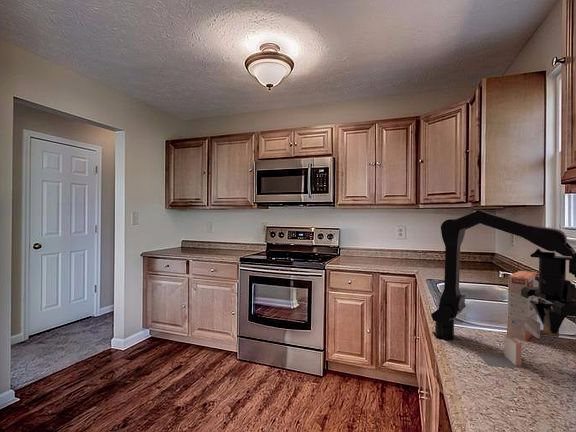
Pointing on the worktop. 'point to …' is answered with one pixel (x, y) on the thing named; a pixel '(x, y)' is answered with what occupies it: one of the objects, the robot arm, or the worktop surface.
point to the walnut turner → (538, 328)
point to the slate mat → (497, 360)
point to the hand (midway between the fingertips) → (550, 331)
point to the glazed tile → (512, 350)
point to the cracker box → (520, 304)
